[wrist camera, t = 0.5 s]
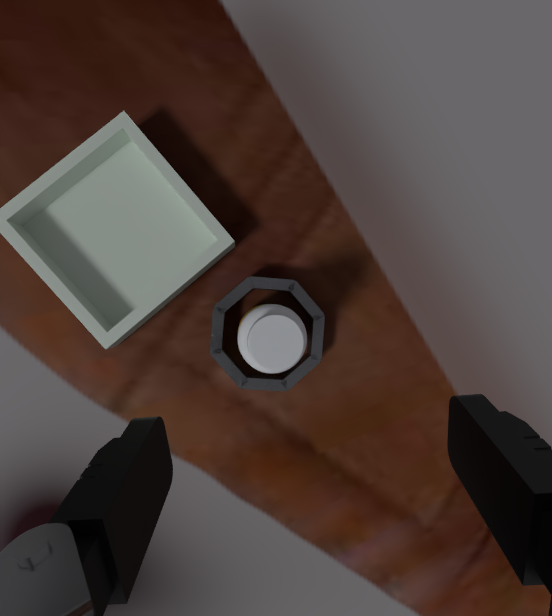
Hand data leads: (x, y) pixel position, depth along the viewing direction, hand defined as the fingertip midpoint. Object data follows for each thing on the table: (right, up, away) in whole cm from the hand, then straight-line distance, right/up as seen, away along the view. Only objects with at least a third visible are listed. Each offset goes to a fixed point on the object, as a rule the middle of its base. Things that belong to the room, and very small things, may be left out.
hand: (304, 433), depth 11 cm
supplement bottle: (-2, +1, +26) cm, 26 cm away
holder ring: (-2, +1, +26) cm, 26 cm away
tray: (-14, +10, +25) cm, 30 cm away
